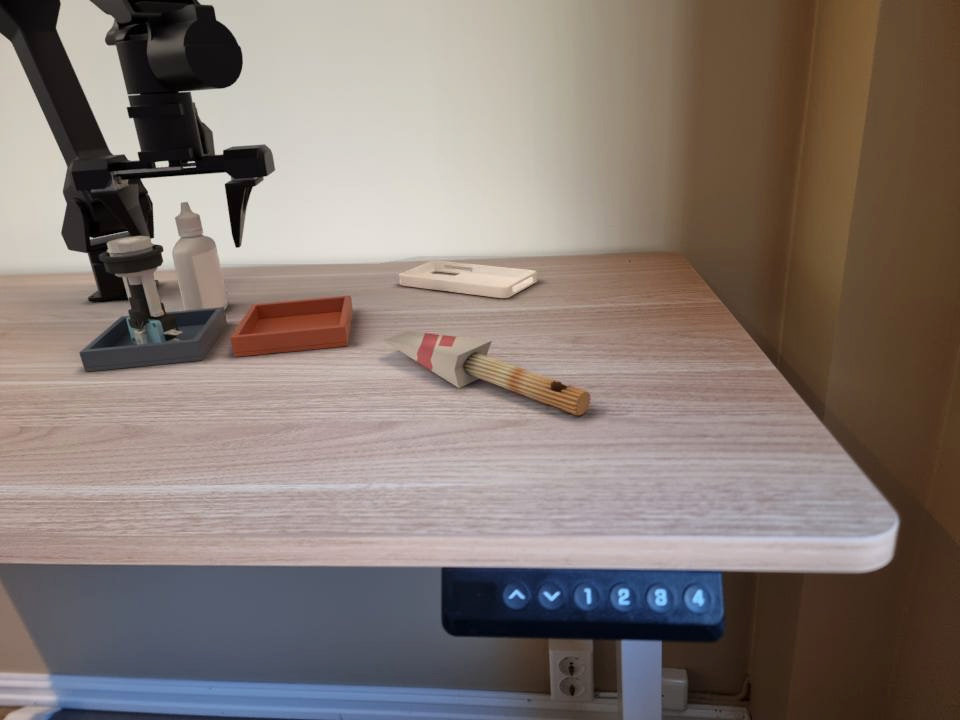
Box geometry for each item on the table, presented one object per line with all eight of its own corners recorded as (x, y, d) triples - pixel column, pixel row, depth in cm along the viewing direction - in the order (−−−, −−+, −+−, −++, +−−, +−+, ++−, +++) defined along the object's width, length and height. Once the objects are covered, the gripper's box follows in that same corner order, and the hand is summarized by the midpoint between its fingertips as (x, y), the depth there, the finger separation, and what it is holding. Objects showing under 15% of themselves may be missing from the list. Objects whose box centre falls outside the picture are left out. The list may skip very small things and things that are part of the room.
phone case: (397, 285, 81) (506, 299, 73) (396, 274, 80) (506, 287, 72) (434, 270, 86) (539, 281, 79) (433, 259, 86) (538, 270, 78)
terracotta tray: (254, 321, 71) (251, 304, 70) (353, 312, 72) (350, 295, 71) (234, 357, 62) (230, 337, 61) (347, 346, 63) (344, 326, 62)
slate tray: (126, 333, 70) (121, 316, 69) (227, 324, 71) (223, 306, 70) (84, 372, 61) (78, 352, 60) (202, 360, 62) (198, 340, 61)
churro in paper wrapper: (411, 313, 60) (599, 377, 47) (413, 342, 61) (597, 412, 49) (376, 325, 58) (565, 396, 45) (379, 355, 59) (564, 432, 46)
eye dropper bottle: (242, 308, 76) (220, 199, 71) (196, 323, 72) (169, 208, 67) (219, 302, 78) (197, 197, 74) (174, 316, 74) (147, 206, 70)
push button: (205, 339, 66) (181, 236, 62) (156, 358, 61) (128, 249, 58) (161, 330, 69) (137, 232, 65) (113, 348, 65) (83, 244, 61)
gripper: (270, 87, 75) (293, 228, 81) (93, 98, 73) (130, 242, 79) (251, 87, 65) (279, 249, 71) (45, 100, 63) (91, 265, 69)
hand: (194, 250), depth 73 cm, fingers open, 9 cm apart
